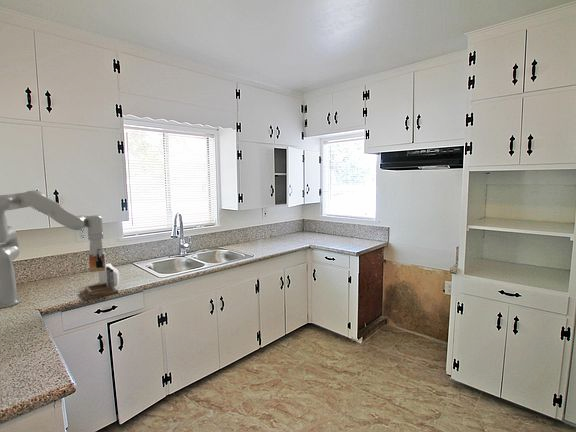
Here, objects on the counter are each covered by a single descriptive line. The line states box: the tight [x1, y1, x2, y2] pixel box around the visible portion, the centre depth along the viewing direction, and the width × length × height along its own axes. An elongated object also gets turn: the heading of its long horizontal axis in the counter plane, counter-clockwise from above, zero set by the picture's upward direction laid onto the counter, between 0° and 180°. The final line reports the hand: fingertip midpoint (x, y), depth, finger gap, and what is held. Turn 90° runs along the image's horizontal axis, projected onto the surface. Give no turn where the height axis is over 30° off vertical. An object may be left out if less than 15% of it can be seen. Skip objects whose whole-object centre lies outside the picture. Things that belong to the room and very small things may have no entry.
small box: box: [88, 251, 107, 273], centre depth 189 cm, size 8×6×10 cm
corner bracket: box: [98, 263, 120, 286], centre depth 210 cm, size 11×11×12 cm
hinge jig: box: [79, 267, 119, 301], centre depth 190 cm, size 15×17×14 cm
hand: (97, 265), depth 190 cm, fingers closed on small box, 6 cm apart
